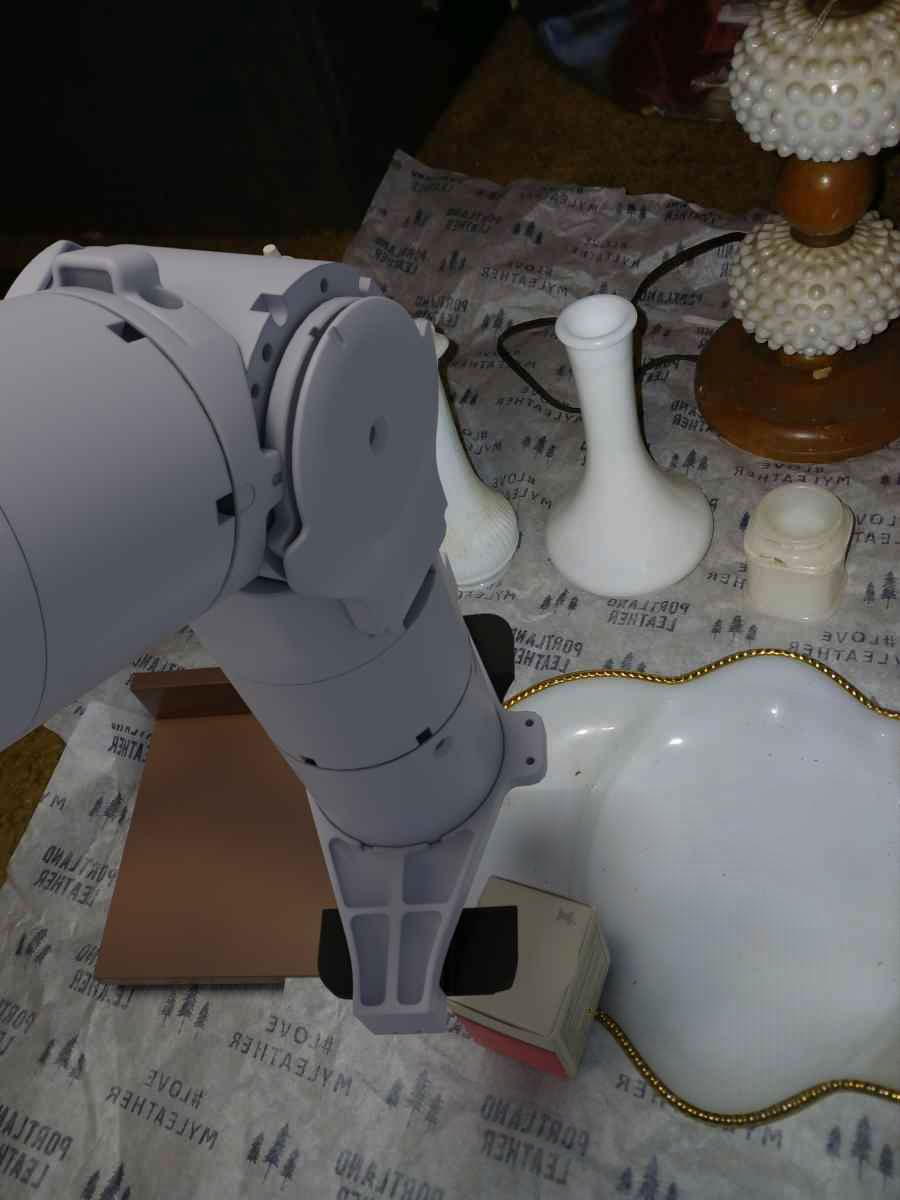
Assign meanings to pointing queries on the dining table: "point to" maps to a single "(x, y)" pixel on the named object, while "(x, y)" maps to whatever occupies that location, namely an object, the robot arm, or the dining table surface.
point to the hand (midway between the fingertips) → (469, 874)
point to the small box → (542, 980)
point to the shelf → (214, 849)
